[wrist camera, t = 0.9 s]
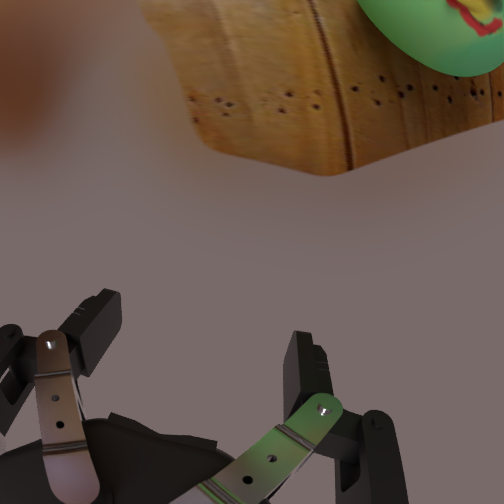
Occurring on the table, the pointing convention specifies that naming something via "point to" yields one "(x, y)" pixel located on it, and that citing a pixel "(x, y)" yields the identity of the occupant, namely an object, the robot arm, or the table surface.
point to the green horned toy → (444, 32)
